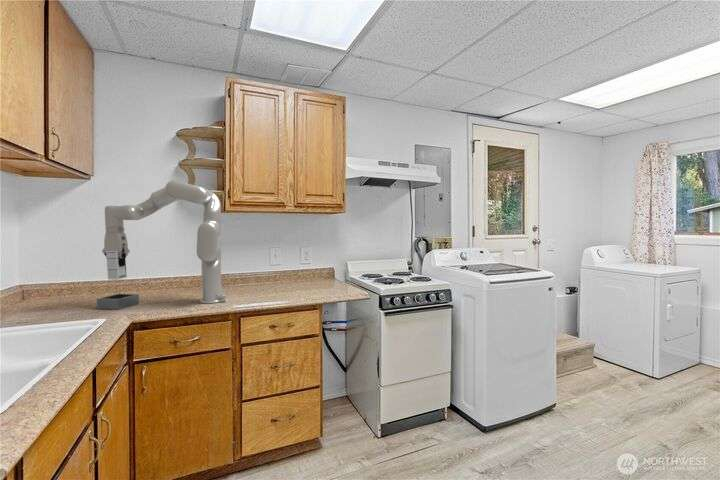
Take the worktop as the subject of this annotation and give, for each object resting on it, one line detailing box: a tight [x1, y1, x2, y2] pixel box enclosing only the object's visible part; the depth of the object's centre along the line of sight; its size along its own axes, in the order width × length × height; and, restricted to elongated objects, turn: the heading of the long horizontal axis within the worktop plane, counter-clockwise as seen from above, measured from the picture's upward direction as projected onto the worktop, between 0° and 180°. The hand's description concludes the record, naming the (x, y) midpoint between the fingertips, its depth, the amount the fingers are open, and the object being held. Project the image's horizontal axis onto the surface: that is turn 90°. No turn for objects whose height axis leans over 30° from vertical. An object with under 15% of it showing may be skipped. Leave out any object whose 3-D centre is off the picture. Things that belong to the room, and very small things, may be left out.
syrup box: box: [105, 251, 128, 281], centre depth 178 cm, size 6×6×14 cm
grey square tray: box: [96, 293, 140, 311], centre depth 179 cm, size 12×12×5 cm
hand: (116, 265), depth 178 cm, fingers closed on syrup box, 6 cm apart
